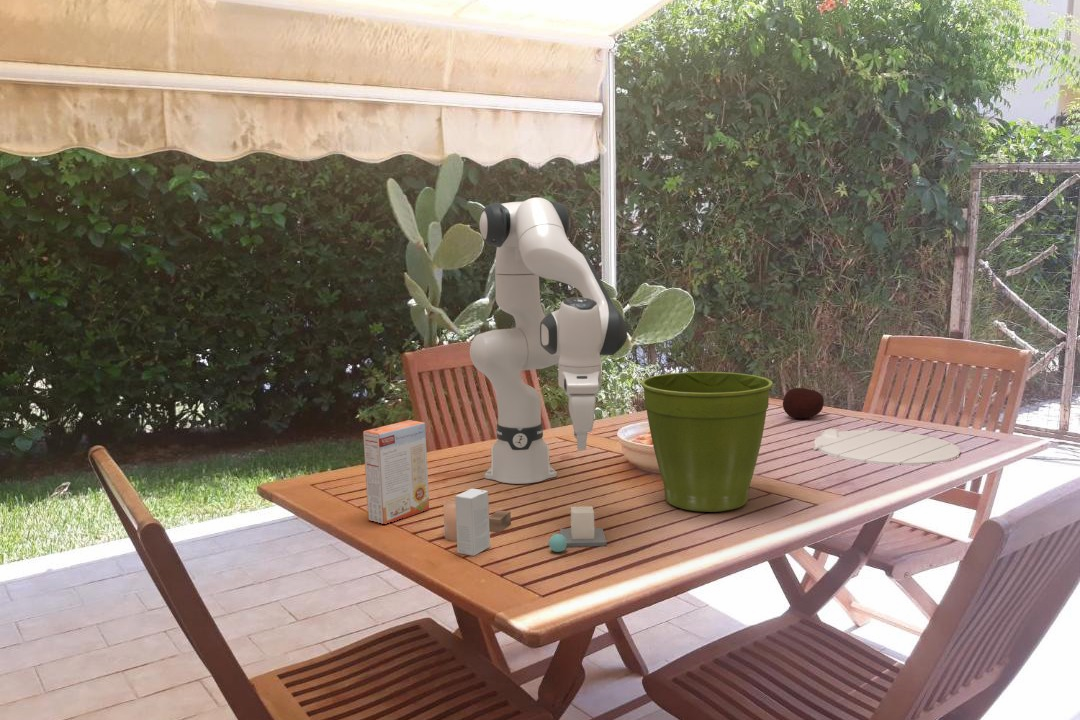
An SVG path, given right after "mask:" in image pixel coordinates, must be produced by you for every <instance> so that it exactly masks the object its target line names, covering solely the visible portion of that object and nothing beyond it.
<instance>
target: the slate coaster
mask: <svg viewBox="0 0 1080 720" xmlns="http://www.w3.org/2000/svg"><path fill="white" fill-rule="evenodd" d="M559 534H561V535H563V536H564V537H565V538H566V540H567V546H566V548H574V547H575V548H581V546H587V547H606V546H607V540H606V537H605V532H604V530H603V527H594V539H572V534H571V528H559ZM605 545H606V546H605ZM579 546H580V547H579Z"/></svg>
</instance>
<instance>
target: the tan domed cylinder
mask: <svg viewBox="0 0 1080 720" xmlns="http://www.w3.org/2000/svg"><path fill="white" fill-rule="evenodd" d="M443 525H444V526H443V527H444V528H443V529H444V530H443V531H444V535H443V536H444V539H445V540H447V541H448V542H449V541H450V542H456V543H457V529H456V505H455V499H452V500H449V501H446V502H444V503H443Z"/></svg>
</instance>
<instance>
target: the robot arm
mask: <svg viewBox="0 0 1080 720" xmlns="http://www.w3.org/2000/svg"><path fill="white" fill-rule="evenodd" d="M479 219H480V220H479V231H480V234H481V237H482V240H483V241H484V242H485V243H486V244H487V246H490V247H494V248H496V253H495V263H494V264H495V266H494V268H495V270H494V271H495V272H494V275H495V282H494V283H495V302H496V305H497V306H498V308H499V309H500V310H501V311H502V312H505V313H506V314H509V315H510V316H512V317H513V319H514V321H515V322H514V323H515V327H514V328H513V327H511V328H500V329H491V330H489V331H484V332H481V333H479V334H477V335H475V336H474V337H473V339H472V341H471V343H470V347H469V357H470V360H471V363H472V365H473V366H474V368H475V369H477V371H478V372H480V373H482V374H483V375H484V376H485V377H486V378H487V379H488V380H489V381H490V383H491V385H492V388H493V390H494V392H495V395H496V405H497V424H496V428H495V429H496V430H495V431H496V438H497V439H496V442H495V443H494V444H493V445H492V446H491V448H490V457H491V461H490V464H491V466H490V467H489V468H488V469H487V470H486V472H485V473H484V477H483V478H484V479H487V480H494V481H496V482H500V483H503V484H516V485H517V484H518V485H519V484H520V485H521V484H534V483H539V482H542V481H545V480H547V479H551V478H555V477H558V474H557V473H558V472H557V471H556V470H555V469H554V468H553V467H552V466H551V465H550V448H549V447H550V446H549V445H548V443H546V441H545V440H544V439H543V437H544V427H543V425H544V424H543V423H542V414H541V412H542V410H541V409H542V406H541V405H542V403H541V401H542V400H541V399H542V398H541V395H540V393H539V391H538V390H537V389H536V388H534V387H532V385H529V384H527V383H524V381H523V379H522V375H521V373H522V371H531V370H542V369H546V368H550V367H552V366H555V365H558V370H557V371H558V376H557V377H558V381H557V382H558V387H559V388H561V389H562V390H564V395H565V396H567V398H568V412H569V416H570V419H571V424H572V427H573V436H574V438H575V439H576V448H577V450H578V451H586V449H587V439H588V433H591V432H592V431H593V428H594V422H595V412H596V411H595V410H596V403H597V402H596V400H597V397H596V396H597V394H599V393H600V388H601V387H602V377H603V376H602V373H603V372H602V366H603V365H602V358H601V356H614V355H615V354H616V353H618V352H619V351H620V350H621V348H622V347H623V346H624V345H625V344H626V342H627V339H628V328H627V324H626V320H625V318H624V316H623V315H622V314H621V312H620V311H619V310H618V308H617V307H616V306H615V304H614V302H613V301H612V299H611V297H610V295H609V294H608V290H606V287H605V286H604V283H603V282H602V279H601V278H600V275H598V271H597V270H596V269H595V266H594V265H593V264H592V263H593V262H592V261H591V260H590V258H589V257H588V256H587V255H585V254H584V253H582V252H580V251H579V250H578V249H577V248H576V247H575V246H574V245H573V244H572V243H571V242H570V240H569V238H568V237H569V233H570V229H571V219H570V213H569V210H568V209H567V207H566V206H565V205H564V204H562V203H560V202H556V201H549V200H547V199H546V198H544V197H532V198H528V199H526V200H523V201H512V202H511V201H510V202H504V203H501V202H493V203H490V204H487V205H485V207H484V208H483V209H482V211H481V215H480V218H479ZM540 278H542V279H547V280H552V281H556V282H560V283H563V284H565V285H569V286H572V287H574V288H575V289H576V290H578V291H579V292H580V294H581V296H578V297H577V296H571V297H568V298H564V299H563V300H562V301H561V302H560V307H559V309H557V310H555V311H552V312H548V313H547V314H546V315H545V313H544V310H543V307H542V303H541V294H540V293H541V292H540Z"/></svg>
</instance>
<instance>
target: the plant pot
mask: <svg viewBox="0 0 1080 720" xmlns="http://www.w3.org/2000/svg"><path fill="white" fill-rule="evenodd" d="M640 385H641V387H642V388H643V394H644V395H643V400H644V408H645V409H646V413H647V414H646V416H647V420H648V427H649V430H650V437H651V441H652V447H653V449H654V455H655V458H656V462H657V466H658V468H659V469H658V470H659V472H660V477H661V479H662V484H663V487H664V499H665V501H666V502H667V503H668V504H670V505H672V506H674V507H676V508H678V509H682V510H686V511H693V512H707V513H708V512H709V513H712V512H713V513H714V512H715V513H716V512H717V513H718V512H727V511H731V510H736V509H738V508H741V507H742V506H744V505H746V503H748V501H749V493H750V492H749V490H750V489H749V488H750V485H751V482H752V479H753V475H754V471H755V468H756V464H757V461H758V457H759V453H760V450H761V444H762V440H763V435H764V429H765V423H766V416H767V409H768V408H769V403H770V402H769V401H770V398H769V397H770V389H771V388H772V387H773V381H772V380H771V379H769V378H766V377H763V376H761V375H760V376H759V375H755V374H748V373H747V374H746V373H737V372H727V371H726V372H723V371H690V372H687V371H686V372H685V371H684V372H675V373H673V372H671V373H664V374H663V373H662V374H657V375H653V376H649V377H646V378H644V379H642V380H641V382H640Z"/></svg>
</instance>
